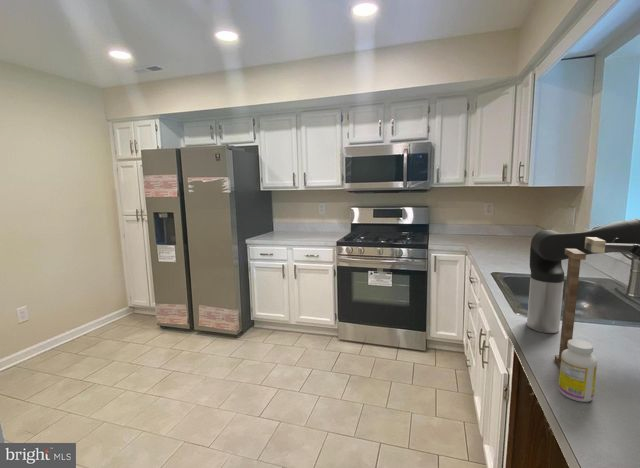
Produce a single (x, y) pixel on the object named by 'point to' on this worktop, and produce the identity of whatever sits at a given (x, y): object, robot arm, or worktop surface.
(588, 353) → the supplement bottle
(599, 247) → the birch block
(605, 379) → the worktop surface
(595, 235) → the robot arm
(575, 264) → the walnut stand
